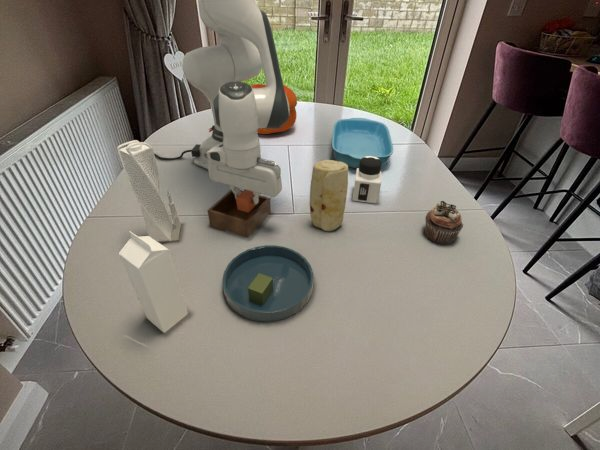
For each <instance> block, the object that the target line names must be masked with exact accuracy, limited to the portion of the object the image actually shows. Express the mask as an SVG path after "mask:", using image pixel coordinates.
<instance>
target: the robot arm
mask: <svg viewBox="0 0 600 450" xmlns="http://www.w3.org/2000/svg"><path fill="white" fill-rule="evenodd" d="M197 1H198V2H197V4H198V10H199V11H198V12H199V17H200V19H201V21H202V23H203V25H204V26H205V27H206V28H208V29H209V30H211V31H212V32H215V33H217V35H218V39H219V44H217V45H208V46H201V47H198V48H195V49H192V50H191V51H188V52H186V53H185V55H184V56H183V59H182V73H183V75H184V77H185V79H186V81H187V82H188V83H189V84H190V85H191V86H192V87H194V88H195V89H197V90H198V91H200V92H201V93H202V94H203V95H204V96H205V98H206V99H207V101H208V102H209V105H210V108H211V114H212V117H213V122H214V124H213V125H212V126H211V127H210V128H208V133H211V135H210V136H209V137H207V138H206V139H205V140H204V141H202V142H201V144H197V143H196V144H195V145H194V146H193V147H192V149H186V150H184V151H182V152H181V154H180V155H179V156H176V157H162V156H159V155H158V154H156V153H155V152H154V155H155V158H157V159H159V160H163V161H164V160H165V161H174V160H175V161H176V160H180V159H182V158H183V157H184V155H186V153H191V157H192V158H194V159H193V164H194V165H196V166H199V167H201V168H204V169H206V170H207V171H208V176H209V178H210V179H211V180H212V182H216V183H219V184H223V185H226V186H229V188H230V190H232V191H233V193H234V194H235V199H236V197H237V196H238V195H239V194H240V193H241V192H240V190H244V189H245V190H249V191H253V194H254V196H253V197H252V198H251V203H252V204H255V205H256V204H257V203H258V202H259V196H261V195H263V196H266V197H267V196H268V197H272V198H275V197H277V196H278V195H280V193H281V192H282V190H283V182H282V175H281V173H282V172H281V171H282V170H281V166H279V164H278V163H276V161H274V160H270V159H266V158H262V157H261V156H262V155H261V141H260V138H259V135H258V134H259V133H257V131H258V128H268V129H279V128H280V127H281V126H283V125H284V124H285V123H286V121H287V120H288V119H289V112H290V109H289V102H288V99H287V96H286V93H285V90H284V86H283V85H284V81H283V78H282V73H281V68H280V63H279V58H278V53H277V48H276V43H275V40H274V35H273V30H272V27H271V23H270V21H269V18H268V15H267V13H266V12H265V11H263V10H261V9H260V8H259V6H258V4H257V3H256V0H197ZM262 70H263V71H262ZM261 72H263V73H264V78H265V85H266V86H265V87H263V88H252V87H251V86H252V85H250V84H249V83H247V82H246V81H249V80H251V79H253V78H255V77H257V76H258V75H260V73H261Z"/></svg>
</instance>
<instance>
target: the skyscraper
mask: <svg viewBox="0 0 600 450" xmlns="http://www.w3.org/2000/svg"><path fill="white" fill-rule="evenodd" d="M116 150H117V153H118V156H119V159H120V163H121V165H122V169H123V171H124V174H125V177H126V179H127V181H128V184H129V187H130V188H131V190H132V193H133V195H134V196H135V198H136V200H137V201H138V203H139V205H140V206H139V207H140V210H141V214H142V217H143V218H142V219H143V222H144V225H145V228H146V232H147V236H149V237H151V238H152V239H154V240H155V241H157V242H158V243H160V244H162V243H174V242H179V241H180V234H181V229H182V223H181V222H180V220H179V214H178V213H177V209H176V207H175V201H173V199H172V196H171V193H170V191H169V188H166V192H167V197H168V203H167V204H168V207H169V210H168V208H167V206H166V203H165V201H164V199H163V197H162V195H161V192H160V175H159V169H158V164H157V163H158V162H157V160H156V156H155V155H154V153H155V152H154V148H153V146H152V145H151V144H149V143H147V142H144V141H139V140H137V139H134V140H130V141H126V142H124V143H121V144H119V145H118V146H117V147H116ZM169 211H170V213H169ZM170 214H171V215H170Z"/></svg>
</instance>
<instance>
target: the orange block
mask: <svg viewBox="0 0 600 450" xmlns="http://www.w3.org/2000/svg"><path fill="white" fill-rule="evenodd" d="M253 196H254V194H253V191H249V190H245V189H242V192H241V193H240V194H239V195H238V196H237V197H236V202H237V209H238V210H241V211H244V212H248V213H249V212H250V211H251V210H252V209H253V207H254V206H255V204H252V203H251V198H252V197H253Z"/></svg>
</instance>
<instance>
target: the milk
mask: <svg viewBox="0 0 600 450" xmlns="http://www.w3.org/2000/svg"><path fill="white" fill-rule="evenodd" d="M128 233H129V236H130V238H129V239H128V240H127V242H126V243H125V245H124V246H123V247H122V248H121V250H120V251H119V252H118V255H119V257H120V260H121V262H122V265H123V267H124V269H125V272H126V274H127V276H128V279H129V281H130V283H131V286H132V287H133V289H134V292H135V294H136V297H137V299H138V301H139V304H140V306H141V308H142V310H143V312H144V315H145V317H146V319H147V320H148V321H149V322H151V323H152V325H154V326H155V327H157V328H158V329H159V330H160V331H161V332H162V333H163V334H165V333H166V332H167V331H169V330H170V329H171V328H172V327H174V326H175V325H176V324H178V323H180V321H181V320H182V319H184V318H185V317H186V316H187V315H188V314H189V311H188V308H187V305H186V301H185V298H184V295H183V292H182V288H181V285H180V282H179V278H178V274H177V272H176V268H175V266H174V262H173V259H172V256H171V252H170V249H168V247H166V246H164V245H163V244H162V243H158V242H157V241H155V240H154V239H152V238H151V237H149V236H148V235H144V236H143V235H142V236H138V235H136V234H135V233H133V232H132V231H131V230H129V231H128Z"/></svg>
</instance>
